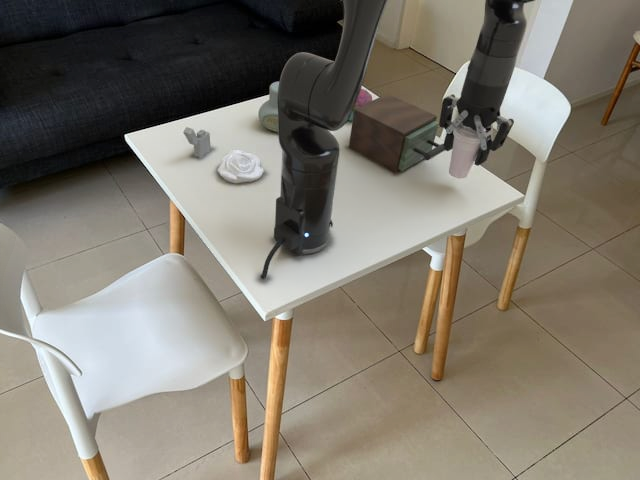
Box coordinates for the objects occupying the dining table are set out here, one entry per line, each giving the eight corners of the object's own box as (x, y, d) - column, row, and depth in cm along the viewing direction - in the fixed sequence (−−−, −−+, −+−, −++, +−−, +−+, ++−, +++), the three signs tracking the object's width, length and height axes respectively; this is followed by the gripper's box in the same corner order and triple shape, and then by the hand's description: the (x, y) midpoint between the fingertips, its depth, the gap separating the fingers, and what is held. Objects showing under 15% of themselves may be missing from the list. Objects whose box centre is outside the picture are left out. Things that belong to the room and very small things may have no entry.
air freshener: (254, 130, 125) (253, 90, 119) (265, 114, 131) (265, 75, 124) (298, 138, 123) (300, 98, 116) (307, 122, 129) (310, 82, 122)
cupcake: (374, 123, 130) (382, 76, 121) (341, 126, 128) (347, 78, 120) (362, 107, 136) (369, 60, 127) (331, 109, 134) (336, 63, 126)
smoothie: (475, 184, 105) (497, 120, 96) (442, 179, 106) (460, 115, 96) (473, 166, 110) (493, 104, 100) (441, 162, 111) (459, 100, 101)
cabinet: (427, 154, 120) (437, 115, 113) (395, 173, 114) (404, 133, 107) (380, 131, 127) (387, 93, 120) (348, 147, 121) (353, 108, 114)
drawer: (447, 162, 116) (456, 130, 111) (418, 180, 111) (427, 147, 106) (387, 132, 125) (393, 101, 119) (358, 147, 120) (363, 115, 114)
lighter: (204, 147, 119) (202, 115, 114) (211, 149, 119) (208, 117, 113) (186, 162, 115) (182, 129, 109) (192, 164, 114) (189, 131, 109)
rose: (235, 137, 114) (273, 150, 111) (236, 154, 117) (272, 168, 114) (207, 157, 108) (245, 172, 105) (208, 175, 111) (246, 191, 108)
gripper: (536, 83, 92) (505, 165, 104) (465, 56, 99) (443, 136, 111) (514, 95, 88) (484, 179, 100) (442, 67, 95) (422, 148, 107)
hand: (463, 156), depth 105 cm, fingers closed on smoothie, 6 cm apart
